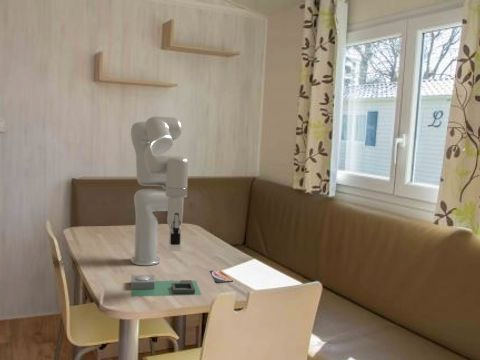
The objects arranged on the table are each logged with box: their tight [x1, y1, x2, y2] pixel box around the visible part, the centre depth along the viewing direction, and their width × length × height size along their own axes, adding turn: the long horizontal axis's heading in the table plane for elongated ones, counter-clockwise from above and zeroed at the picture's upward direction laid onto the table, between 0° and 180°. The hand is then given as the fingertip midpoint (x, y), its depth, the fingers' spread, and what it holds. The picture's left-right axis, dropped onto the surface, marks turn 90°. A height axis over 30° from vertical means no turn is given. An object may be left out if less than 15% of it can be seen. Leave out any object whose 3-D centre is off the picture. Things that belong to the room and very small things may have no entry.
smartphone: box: [209, 270, 234, 284], centre depth 200 cm, size 8×1×15 cm
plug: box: [167, 225, 182, 252], centre depth 178 cm, size 4×4×8 cm
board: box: [130, 274, 202, 297], centre depth 180 cm, size 16×24×4 cm, turn 102°
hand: (174, 242), depth 179 cm, fingers closed on plug, 4 cm apart
